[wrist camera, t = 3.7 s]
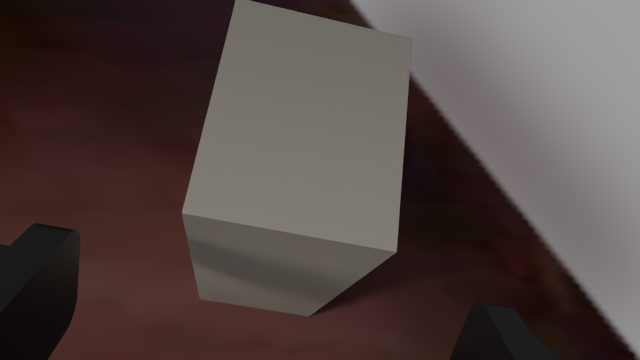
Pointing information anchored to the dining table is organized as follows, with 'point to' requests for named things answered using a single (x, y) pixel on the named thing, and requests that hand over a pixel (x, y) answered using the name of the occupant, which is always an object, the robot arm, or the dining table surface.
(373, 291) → the dining table surface
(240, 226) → the clay bar
